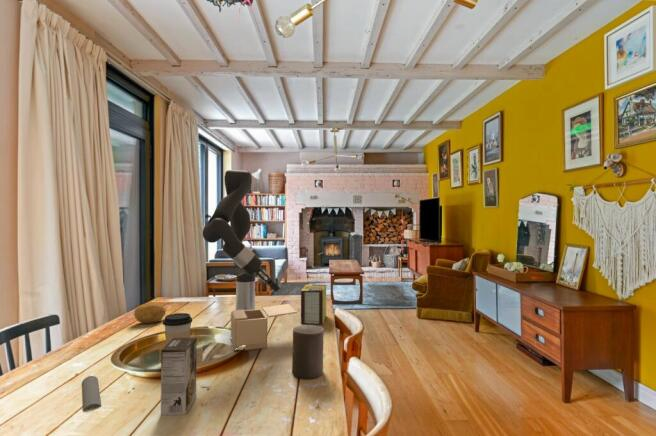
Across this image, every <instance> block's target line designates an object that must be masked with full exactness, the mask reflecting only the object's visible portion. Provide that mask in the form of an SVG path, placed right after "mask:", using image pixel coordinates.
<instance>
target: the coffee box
mask: <svg viewBox="0 0 656 436" xmlns="http://www.w3.org/2000/svg"><path fill="white" fill-rule="evenodd" d="M160 350H161V351H160V352H161V353H160V356H161V358H160V366H161V367H160V415H161V416H172V415H173V416H175V415H186V414H187V413H188V412H189V410H190V408H191V406H192V405H193V403H194V401H195V399H196V397H197V337H190V338H173V339H172V340H171V341H170V342H169V343H168V344H167V345H166V344H165V346H164V347H163V348H162V349H160Z"/></svg>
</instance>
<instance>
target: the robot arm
mask: <svg viewBox="0 0 656 436" xmlns="http://www.w3.org/2000/svg"><path fill="white" fill-rule="evenodd" d="M252 178H253V177H252V173H251V172H250V171H248V170H241V169H227V170H226V171H225V173H224V187H225V192H226V195H225V196H224V197H223V198H222V199H220V200H219V202H218V203H217V206H216V208H215V209H214V212H213V214H212V216H210V218H209V219H208V221H207V222H206V223H205V225H204V227H203V228H202V237H203V239H204V241H206V242H208V243H217V242H218V241H219V240H220V239H222V241H223V242H224V244H223V246H222V250H223V252H224V253H225V254H226V255H227V256H228V258H230V259H231V260H232V261H233V265H234V267H236V268H240V269H241V270H242V271H243V273H242V272H241V273H239V274H237V275H236V276H235V277H236V278H235V279H236V280H235V281H236V285H235V288H236V289H235V291H236V292H235V310H254V309H256V278H258V279H259V280H261V282H262V283H264V284H267V286H268V287H270V288H271V289H272V290H273V291H274V292H275V293H277V292H279V291H280V286H279V285H278V284H276V283H275V281H274V279H273V278H271V275H270V274H268V273H267V271H266V270H265V269H264V268H263V267H261V268H260V266H261V265H262V263H263V260H262V259H261V258H260V257H259V256H257V253H256V250H255V248H249V247H248V246H246V245H245V244H244V243H243V240H245V238H246V236H247V235H248V234H249V231H250V230H251V226H252V225H251V215H250V213H249V211H248V209H247V208H246V206H245V205H244V204H243V203H242V201H243V200H244V198H245V196H246V195H247V194H248V193H249V191H250V190H251V187H252V182H253V179H252Z"/></svg>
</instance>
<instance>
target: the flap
mask: <svg viewBox="0 0 656 436" xmlns="http://www.w3.org/2000/svg"><path fill="white" fill-rule="evenodd" d="M262 311H263V312H264V314H265V315H266V317H267V318H273V317H279V316H286V315H293V314H298V311H296V309H295V308H294V307H293V306H291V305H290V304H289V303H285V304H277V305H271V306H266V307H265V306H264V307H262Z"/></svg>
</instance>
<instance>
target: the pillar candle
mask: <svg viewBox="0 0 656 436" xmlns="http://www.w3.org/2000/svg"><path fill="white" fill-rule="evenodd" d="M324 333H325V332H324V327H322V326H318V325H315V324H301V325H298V326H295V327H293V329H292V358H291V359H292V361H291V372H292V373H291V374H292V375H293V377H294V378H298V379H301V380H312V379H318V378H319V377H322V375H323V373H324Z"/></svg>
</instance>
